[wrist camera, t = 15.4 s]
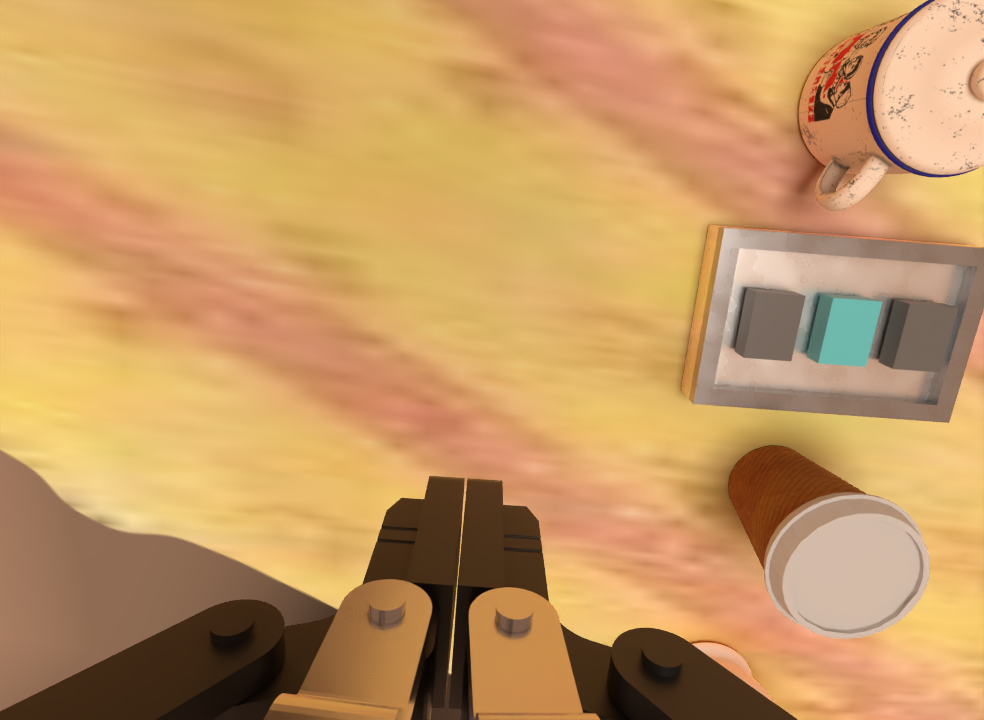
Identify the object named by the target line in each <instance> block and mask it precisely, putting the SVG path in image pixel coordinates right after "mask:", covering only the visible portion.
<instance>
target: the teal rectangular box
mask: <svg viewBox="0 0 984 720" xmlns="http://www.w3.org/2000/svg"><path fill="white" fill-rule="evenodd" d="M881 306H882V301H879V300H875V299H872V298H869V297H858V296H845V295H832V294H821V295H820V299H819V304H818V308H817V312H816V317H815V321H814V326H813V330H812V335H811V339H810V343H809V348H808V352H807V357H808V358H809V359H811V360H813V361H815V362H817V363H819V364H833V365H846V366H859V367H866V364H867V361H868V357H869V353H870V349H871V345H872V341H873V337H874V333H875V329H876V325H877V321H878V317H879V314H880V310H881Z"/></svg>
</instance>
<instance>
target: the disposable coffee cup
mask: <svg viewBox="0 0 984 720" xmlns="http://www.w3.org/2000/svg"><path fill="white" fill-rule="evenodd" d="M728 489H729V496H730V499H731V501H732V503H733V505H734V507H735V509H736V511H737V513H738V515H739V518H740V520H741V522H742V524H743V526H744V529H745V531H746V533H747V535H748V537H749V539H750V541H751V543H752V546H753V547H754V550H755V552H756V554H757V556H758V558H759V560H760V563H761V565H762V567H763V569H764V579H765V583H766V587H767V590H768V593H769V595H770V597H771V599H772V601H773V603H774V604H775V605H776V607H777V608H778V609H779V610H780V611H781V612H782V613H783V614H784V615H785V616H786V617H788V618H789V619H791V620H792V621H794V622H795V623H798V624H800V625H802V626H804V627H805V628H807V629H809V630H810V631H812V632H814V633H816V634H819V635H823V636H826V637H830V638H839V639H850V638H860V637H864V636H869V635H873V634H875V633H878V632H880V631H883V630H885V629H886V628H888V627H890V626H892V625H894V624H895V623H897V622H898V621H899V620H901V619H902V618H903V617H905V616H906V615H907V614H908V613H909V612H910V611H911V610H912V609H913V608H914V606H915V605H916V604H917V603H918V601H919V600H920V598H921V596H922V595H923V593H924V591H925V589H926V586H927V583H928V580H929V572H930V557H929V554H928V550H927V547H926V545H925V543H924V541H923V538H922V534H921V532H920V530H919V528H918V526H917V524H916V523H915V522H914V520H913V519H912V518H911V517H910V515H909V514H908V513H907V512H905V511H904V510H903V509H902V508H900V507H899V506H898V505H896V504H894V503H893V502H891V501H889V500H886V499H883V498H881V497H878V496H873V495H867V494H866V493H864V492H862V491H860V490H859V489H858V488H856V487H854V486H853V485H851V484H848V483H847V482H846V481H844V480H842V479H841V478H839V477H837V476H836V475H834V474H832V473H831V472H829V471H827V470H825V469H824V468H822V467H820V466H819V465H817V464H815V463H814V462H812V461H810V460H809V459H807V458H805V457H804V456H802V455H800V454H799V453H797V452H796V451H794V450H792V449H790V448H787V447H783V446H766V447H761V448H759V449H756V450H753V451H751V452H750V453H748V454H747V455H745V456H744V457H743V458H742V459H741V460H740V461H739V462H737V464H736V466H735V467H734V469H733V470H732V472H731V475H730V478H729V483H728Z"/></svg>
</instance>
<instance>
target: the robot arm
mask: <svg viewBox="0 0 984 720" xmlns="http://www.w3.org/2000/svg"><path fill="white" fill-rule="evenodd" d="M464 479H465V478H453V477H439V476H430V477H429V481H428V485H427V490H426V494H425V499H410V498H401V499H400V500H399V501H397V502H396V503H395V504H394V505H393V506H392V507H390V508H389V509H388V510H387V512H386V515H385V518H384V521H383V524H382V529H381V530H380V533H379V536H378V540H377V542H376V545H375V548H374V551H373V554H372V557H371V560H370V563H369V566H368V569H367V572H366V575H365V578H364V581H363V584H362V585H360V586H359V587H357V588H355V589H354V590H352V591H351V592H350V593H349V594H348V595H347V596H346V597H345V598H344V600H343V602H342V603H341V605H340V607H339V610H338V612H337V614H335V615H333V616H331V617H329V618H326V619H323V620H320V621H314V622H310V623H303V624H297V625H291V626H284V619H283V616H282V614H281V612H280V611H279V610H278V609H277V608H275V607H274V606H272V605H270V604H268V603H266V602H262V601H258V600H234V601H229V602H225V603H221V604H218V605H215V606H213V607H210V608H208V609H206V610H204V611H202V612H200V613H198V614H196V615H194V616H192V617H190V618H188V619H186V620H184V621H182V622H180V623H178V624H176V625H174V626H172V627H170V628H168V629H166V630H164V631H162V632H160V633H158V634H156V635H154V636H152V637H150V638H148V639H146V640H144V641H142V642H140V643H137V644H135V645H133V646H131V647H130V648H127V649H126V650H123V651H122V652H119V653H117V654H115V655H113V656H111V657H109V658H107V659H105V660H103V661H101V662H99V663H97V664H95V665H93V666H91V667H89V668H87V669H85V670H83V671H81V672H79V673H77V674H75V675H73V676H71V677H69V678H67V679H65V680H63V681H61V682H59V683H57V684H55V685H53V686H51V687H49V688H47V689H45V690H43V691H41V692H39V693H37V694H35V695H33V696H31V697H29V698H27V699H25V700H23V701H21V702H19V703H16V704H14V705H13V706H11V707H9V708H6V709H5V710H2V711H0V720H430V719H431V711H432V707H434V708H445V701H446V691H447V681H448V670H449V660H450V649H451V639H452V629H453V618H454V608H455V597H456V587H457V576H458V565H459V552H460V538H461V524H462V510H463V495H464ZM540 537H541V536H540V529H539V521H538V520H537V519H536V517H535V516H534V515H533V514H532V513H531V511H530V510H529V509H528V508H527V507H525V506H510V505H503V487H502V481H497V480H483V479H469V478H468V480H467V491H466V501H465V512H464V523H463V534H462V544H461V555H460V566H459V577H458V588H457V602H456V616H455V631H454V645H453V659H452V673H451V688H450V702H449V708H454V709H461V717H460V720H797V719H796V718H795V717H793V716H792V715H790V714H789V713H788V712H786V711H785V710H783V709H782V708H781V707H779V706H778V705H776V704H775V703H774V702H772V701H771V700H769V699H768V698H767V697H765V696H764V695H762V694H761V693H760V692H758V691H757V690H755V689H754V688H753V687H751V686H750V685H748V684H747V683H746V682H744V681H743V680H741V679H740V678H739V677H737V676H736V675H734V674H733V673H732V672H730V671H729V670H727V669H726V668H725V667H723V666H722V665H720V664H719V663H718V662H716V661H715V660H713V659H712V658H711V657H709V656H708V655H706V654H705V653H703V652H702V651H701V650H699V649H698V648H696V647H695V646H694V645H692V644H691V643H689V642H688V641H686V640H685V639H683V638H681V637H679V636H677V635H675V634H673V633H670V632H667V631H664V630H660V629H654V628H636V629H632V630H628V631H626V632H624V633H622V634H621V635H620V636H618V638H617V639H616V640H615V641H614V644H613V646H612V647H609V646H606V645H603V644H600V643H597V642H593V641H590V640H588V639H585V638H582V637H580V636H578V635H576V634H574V633H573V632H571V631H570V630H568V629H567V628H566V627H564V626H563V625H562V624H561V623H560V621H559V617H558V614H557V612H556V610H555V608H554V607H553V606H552V605H551V604H550V602H549V599H548V591H547V583H546V575H545V568H544V560H543V553H542V544H541V540H540Z"/></svg>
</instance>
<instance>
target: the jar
mask: <svg viewBox="0 0 984 720" xmlns="http://www.w3.org/2000/svg"><path fill="white" fill-rule="evenodd" d="M692 645H694V646H695V647H696V648H698V649H699V650H701V651H702V652H703V653H705V654H706V655H708V656H709V657H711V658H712V659H713V660H715V661H716V662H718V663H719V664H720V665H722V666H723V667H725V668H726V669H727V670H729V671H730V672H732V673H733V674H734V675H736V676H737V677H739V678H740V679H741V680H743V681H744V682H746V683H747V684H748V685H750V686H751V687H753V688H754V689H755V690H757V691H758V692H760V693H761V694H762V695H764V696H765V697H767V698H768V699H769V700H771V701H772V702H774V703H775V701H774V700H773V699H772V697H771V696H770V695H769V694H768V692H767V691H766V690H765V689H764V688H763V687H762V686H761V685H760V684H759V683H758V682H757V681H756V680H755V679H754V678H752V673H751V670H750V668H749V666H748V664H747V662H746V661H745V660H744V658H743V657H742V656H741V655H740V654H739V653H737V652H736V651H735V650H733V649H731V648H729V647H727V646H724V645H721V644H717V643H710V642H701V643H694V644H692ZM775 704H776V703H775ZM776 705H777V704H776Z"/></svg>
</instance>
